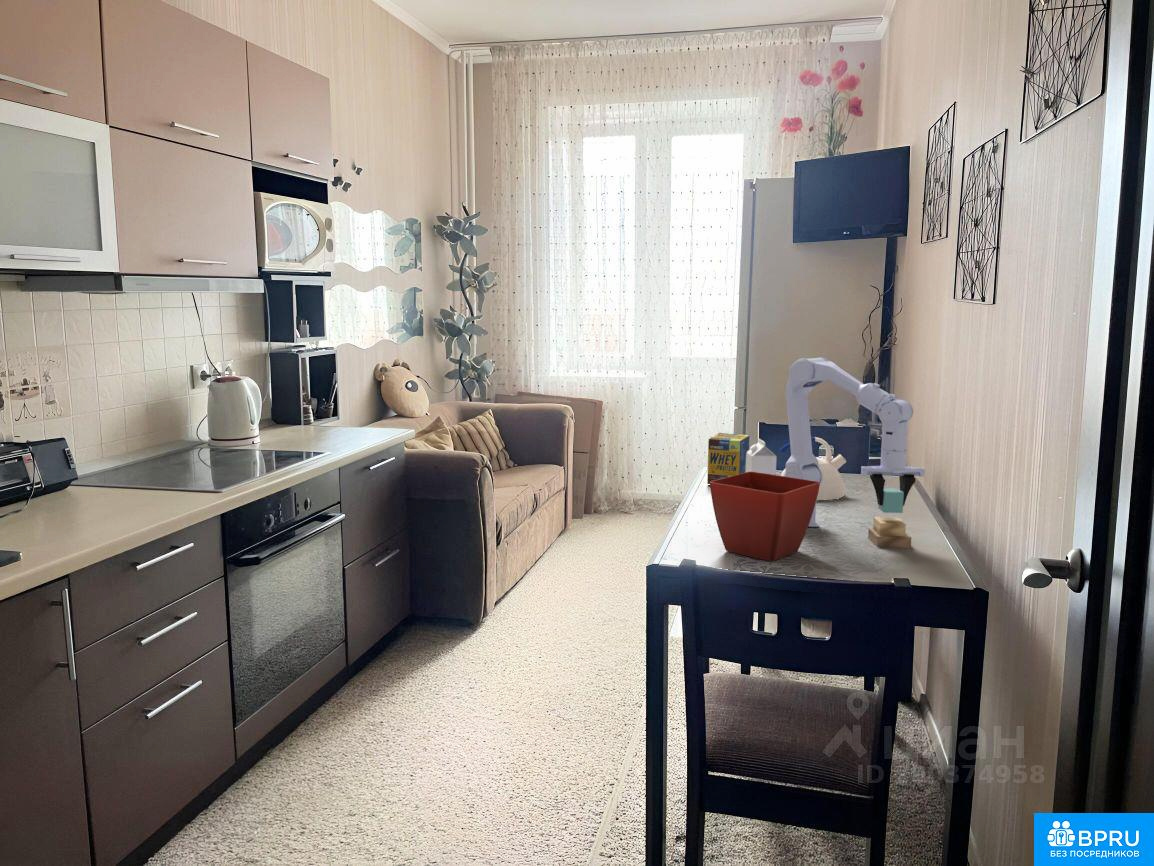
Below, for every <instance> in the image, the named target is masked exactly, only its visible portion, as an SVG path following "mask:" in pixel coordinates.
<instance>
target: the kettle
mask: <svg viewBox="0 0 1154 866" xmlns="http://www.w3.org/2000/svg"><path fill="white" fill-rule="evenodd" d="M811 442H817V443H820V444H821V445H823V447H824V450H825V455H824V456H825V457H824V458H821V457H818V456H815V457H816V458H817V459H818V464H819V467H820V469H821V471H822V474H823V479H822V482H821V484H820V486H819V492H818V496H817V500H824V499H825V500H828V499H837V498H841V497H843V496H844V495H845V482H844V480H843V476H842V475H841V473H840V472H839V469H840V468H841V467H842V466H843V465H844V464H846V463H847V460H846V458H845V457H844V456H842V454H840V453H839V454H838V455H837V456H836V457H834V458H833V459H832V456H833V455H832V454H833V452H832V449H831V446H830V445H829V443H828V442H827V441H825V440H824V439H823V438H820V437H816V436H811ZM789 449H791V448H790V442H788V443H786V444H784V445H783V446H782V447H780V448H779V449H778V450H779V451H780V452H782V453H784V452H786V451H787V450H789ZM785 471H786V467H785V468H784V469H783V470H782V472H781V474H780V476H784V474H785ZM844 497H845V496H844ZM844 497H843V498H844ZM841 499H842V498H841ZM837 500H838V499H837Z"/></svg>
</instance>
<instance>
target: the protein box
mask: <svg viewBox="0 0 1154 866" xmlns="http://www.w3.org/2000/svg"><path fill="white" fill-rule="evenodd" d="M707 442H708V446H707V447H708V448H707V449H708V451H707V483H706V485H707V484H710V481H713V480H717V479H721V478H725V477H729V476H733V475H737V474H741V473H745V472H746V456H747V452H748V451H749V450H750V435H748V434H739V433H738V434H737V433H726V432H724V433H723V432H719V433H717V434H715V435H713V436H711V437H710V438H708V441H707Z"/></svg>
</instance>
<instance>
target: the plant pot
mask: <svg viewBox="0 0 1154 866" xmlns="http://www.w3.org/2000/svg"><path fill="white" fill-rule="evenodd" d="M819 486H820V482H817V481H811V480H804V479H798V478H791V477H785V476H781V475H777V474H776V475H772V474H765V473H759V472H745V473H741V474H737V475H733V476H729V477H725V478H721V479H717V480H713V481H710V486H709V488H710V495H711V500H712V501H711V502H712V507H713V508H712V509H713V512H714V517H715V520H716V524H717V528H718V533H719V536H720V538H721V541H722V544H723V547H724V549H725V551H726V552H729V553H734V554H738V555H742V556H747V557H749V558H754V559H758V560H759V559H760V560H763V561H767V562H775V561H777V560H780V559H782V558H784V557H787V556H789V555H790V556H791V555H792V554H794V553H796V552H798V551H799V549H800V547H801V545H802V543H803V540H804V538H805V536H806V533H807V530H808V528H809V527H808V525H809V523H810V520H811V517H812V514H813V510H814V507H815V503H816V504H817V501H816V500H817V496H818V492H819Z"/></svg>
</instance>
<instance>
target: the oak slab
mask: <svg viewBox="0 0 1154 866" xmlns="http://www.w3.org/2000/svg"><path fill="white" fill-rule="evenodd" d="M906 527H907V524H906V523H905V522H904V521H903V520H902V519H901V518H900V517H882V516H881V517H879V516H874V517H873V527H872V528H873V529H874V530H875V531H876V532H877V533H878V534H879V535H886V536H905V532H906Z"/></svg>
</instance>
